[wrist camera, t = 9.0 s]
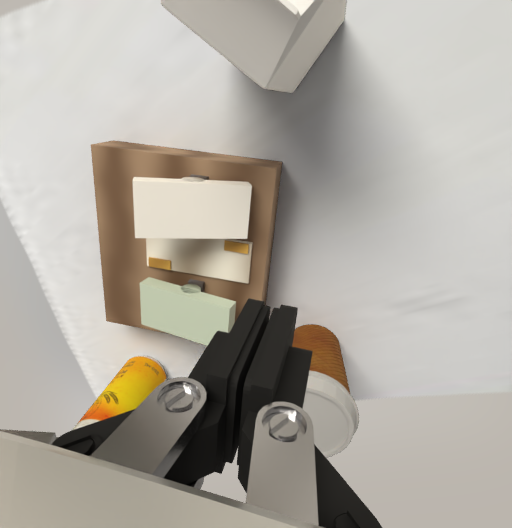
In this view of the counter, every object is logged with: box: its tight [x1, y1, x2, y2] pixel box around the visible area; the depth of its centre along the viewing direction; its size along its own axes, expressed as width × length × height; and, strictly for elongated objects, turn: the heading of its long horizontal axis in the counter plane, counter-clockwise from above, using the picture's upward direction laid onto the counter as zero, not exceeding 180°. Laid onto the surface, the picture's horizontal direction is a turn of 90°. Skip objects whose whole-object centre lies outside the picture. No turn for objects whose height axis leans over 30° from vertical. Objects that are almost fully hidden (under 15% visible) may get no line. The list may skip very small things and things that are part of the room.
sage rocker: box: [140, 277, 236, 346], centre depth 39 cm, size 10×5×2 cm, turn 84°
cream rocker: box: [133, 177, 252, 239], centre depth 34 cm, size 10×5×2 cm, turn 85°
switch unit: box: [91, 141, 282, 333], centre depth 40 cm, size 18×20×5 cm
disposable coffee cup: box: [292, 325, 359, 458], centre depth 39 cm, size 10×10×12 cm
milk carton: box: [161, 0, 347, 93], centre depth 24 cm, size 7×7×19 cm
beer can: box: [73, 356, 167, 430], centre depth 45 cm, size 6×6×15 cm
